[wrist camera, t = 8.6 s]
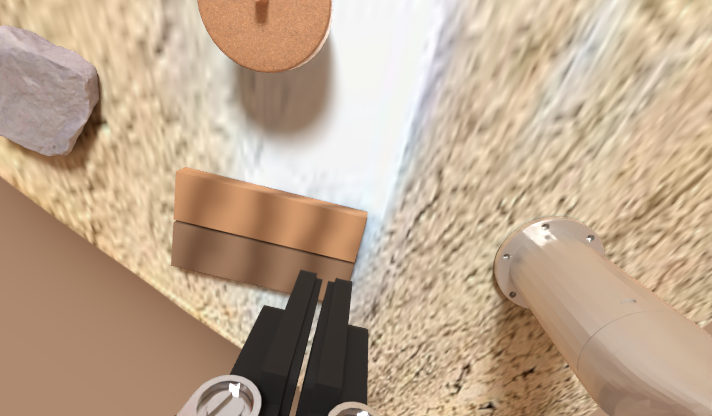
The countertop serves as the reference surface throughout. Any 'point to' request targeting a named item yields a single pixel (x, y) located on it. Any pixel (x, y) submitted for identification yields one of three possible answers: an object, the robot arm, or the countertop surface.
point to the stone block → (43, 92)
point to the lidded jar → (268, 31)
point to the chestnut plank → (268, 214)
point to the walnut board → (250, 259)
